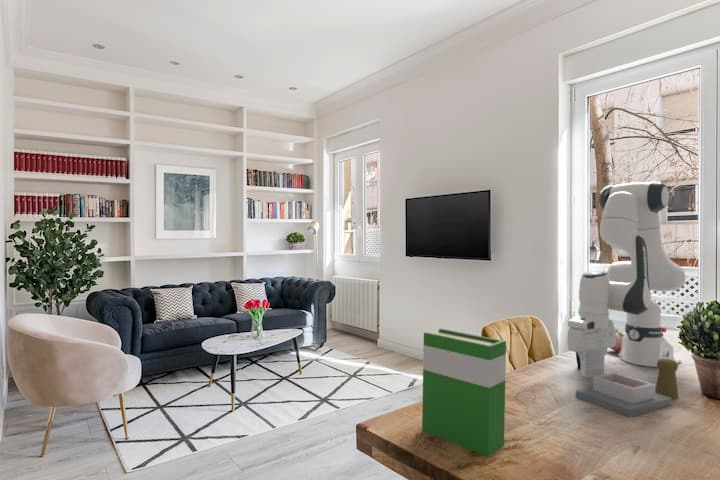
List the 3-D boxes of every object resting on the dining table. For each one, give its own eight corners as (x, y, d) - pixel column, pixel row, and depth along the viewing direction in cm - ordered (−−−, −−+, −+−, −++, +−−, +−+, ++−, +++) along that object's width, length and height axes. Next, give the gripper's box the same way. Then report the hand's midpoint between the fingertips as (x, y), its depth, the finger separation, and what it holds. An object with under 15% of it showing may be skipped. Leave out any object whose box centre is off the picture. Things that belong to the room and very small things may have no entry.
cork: (682, 399, 131) (683, 363, 131) (660, 398, 132) (660, 361, 132) (672, 392, 137) (673, 357, 137) (651, 391, 138) (651, 356, 138)
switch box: (617, 387, 141) (617, 368, 141) (671, 404, 127) (671, 384, 127) (575, 396, 132) (576, 377, 132) (629, 416, 118) (629, 394, 118)
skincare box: (598, 374, 146) (599, 338, 146) (604, 378, 142) (605, 341, 142) (579, 373, 147) (580, 337, 147) (584, 377, 143) (585, 340, 143)
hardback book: (422, 430, 108) (423, 332, 107) (439, 421, 113) (441, 328, 113) (488, 456, 95) (490, 346, 95) (504, 445, 101) (506, 341, 100)
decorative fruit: (599, 350, 188) (599, 326, 187) (614, 349, 190) (614, 326, 190) (618, 356, 179) (618, 331, 178) (633, 354, 181) (634, 330, 181)
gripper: (604, 317, 152) (603, 357, 152) (564, 321, 142) (563, 364, 143) (622, 320, 146) (621, 361, 146) (581, 325, 137) (580, 369, 137)
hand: (592, 363), depth 144 cm, fingers closed on skincare box, 7 cm apart
